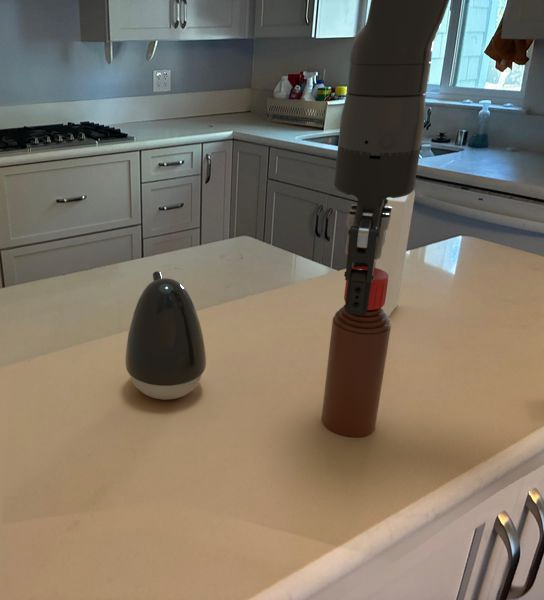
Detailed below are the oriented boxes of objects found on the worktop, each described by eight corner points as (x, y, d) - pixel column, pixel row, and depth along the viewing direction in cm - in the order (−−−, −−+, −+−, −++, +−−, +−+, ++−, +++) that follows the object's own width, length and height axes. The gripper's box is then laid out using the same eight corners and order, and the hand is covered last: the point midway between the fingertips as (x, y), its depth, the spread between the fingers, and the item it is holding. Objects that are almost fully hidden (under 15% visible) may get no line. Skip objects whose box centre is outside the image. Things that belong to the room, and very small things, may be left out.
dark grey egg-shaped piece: (194, 364, 85) (195, 261, 79) (214, 405, 76) (217, 292, 69) (121, 372, 84) (116, 267, 77) (133, 415, 74) (128, 300, 68)
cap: (341, 306, 65) (345, 277, 63) (346, 292, 68) (349, 264, 67) (383, 312, 63) (387, 282, 62) (385, 297, 67) (390, 269, 65)
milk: (361, 298, 104) (377, 168, 96) (398, 305, 101) (419, 171, 92) (349, 310, 100) (365, 175, 91) (388, 319, 97) (408, 179, 88)
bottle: (377, 413, 73) (398, 273, 66) (373, 442, 68) (396, 293, 61) (325, 403, 76) (341, 266, 68) (317, 430, 71) (333, 286, 63)
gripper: (347, 130, 67) (331, 275, 74) (328, 153, 55) (311, 324, 62) (422, 132, 64) (398, 283, 71) (419, 158, 52) (391, 337, 59)
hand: (358, 302), depth 66 cm, fingers open, 5 cm apart
